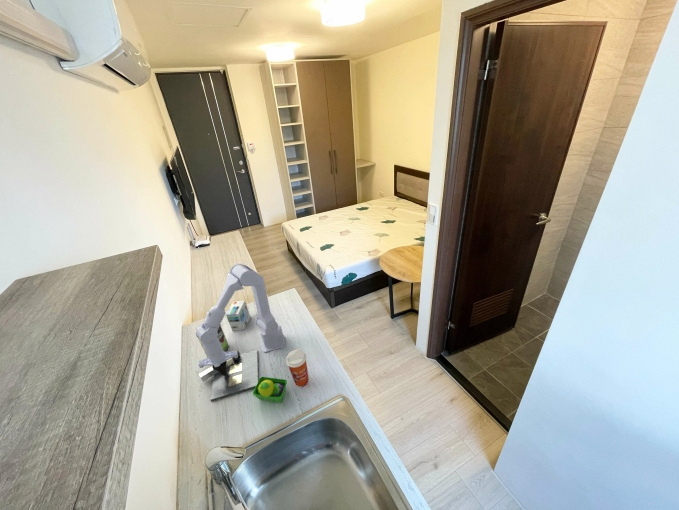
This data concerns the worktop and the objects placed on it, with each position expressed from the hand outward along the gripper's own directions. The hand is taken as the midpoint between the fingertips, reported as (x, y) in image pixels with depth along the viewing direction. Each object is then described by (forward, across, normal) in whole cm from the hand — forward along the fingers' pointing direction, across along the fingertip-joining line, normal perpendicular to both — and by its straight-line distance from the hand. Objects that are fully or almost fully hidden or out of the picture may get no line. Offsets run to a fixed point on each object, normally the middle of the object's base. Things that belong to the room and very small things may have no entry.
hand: (224, 372), depth 113 cm
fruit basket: (+2, +18, -16) cm, 24 cm away
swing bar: (+1, -2, +3) cm, 4 cm away
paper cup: (+2, +30, -13) cm, 33 cm away
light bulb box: (+2, +5, +32) cm, 33 cm away
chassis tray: (+2, +4, 0) cm, 5 cm away
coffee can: (+2, -5, +16) cm, 17 cm away
